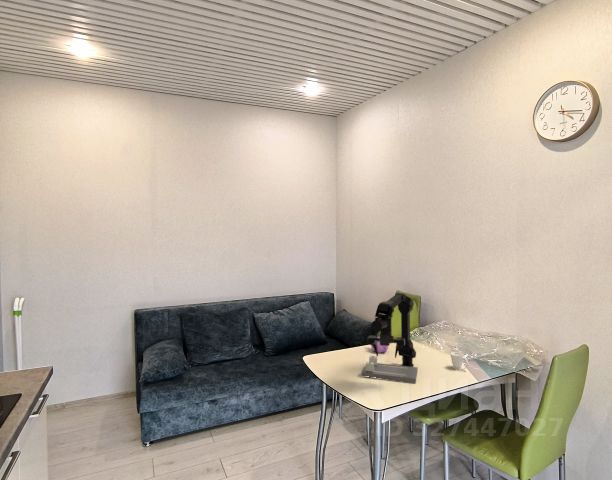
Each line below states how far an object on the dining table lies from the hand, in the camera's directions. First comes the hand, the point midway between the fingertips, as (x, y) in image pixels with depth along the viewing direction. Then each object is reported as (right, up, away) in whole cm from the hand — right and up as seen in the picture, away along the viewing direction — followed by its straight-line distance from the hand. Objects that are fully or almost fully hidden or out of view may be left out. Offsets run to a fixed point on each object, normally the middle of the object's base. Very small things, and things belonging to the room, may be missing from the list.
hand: (386, 357), depth 190 cm
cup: (+45, -12, +16) cm, 49 cm away
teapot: (+6, -12, +49) cm, 51 cm away
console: (+4, -13, +11) cm, 17 cm away
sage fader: (-7, -10, +9) cm, 16 cm away
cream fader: (-3, -10, +19) cm, 22 cm away
